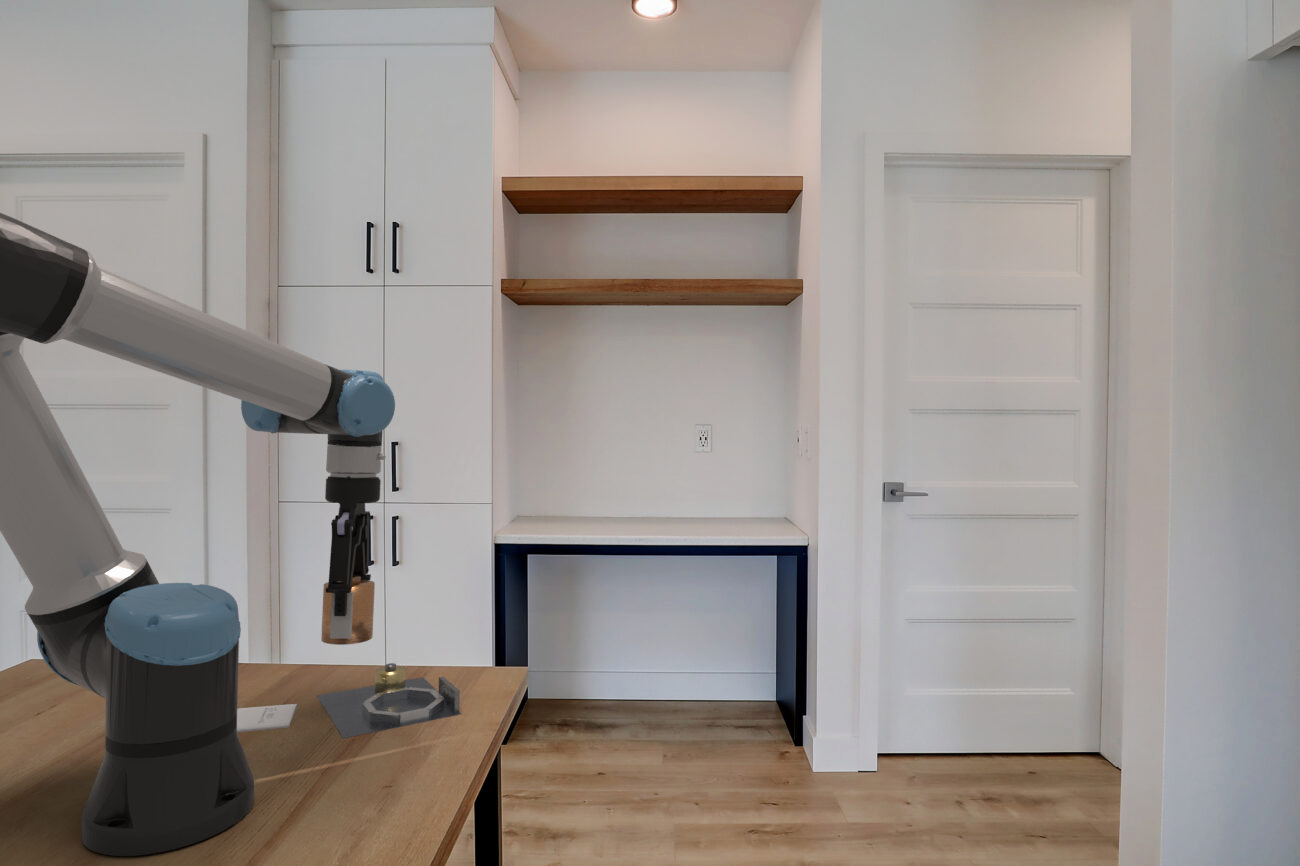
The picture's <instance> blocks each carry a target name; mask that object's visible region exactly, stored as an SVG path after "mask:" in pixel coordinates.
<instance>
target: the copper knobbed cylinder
mask: <svg viewBox="0 0 1300 866" xmlns="http://www.w3.org/2000/svg"><path fill="white" fill-rule="evenodd" d="M338 582H342V581H338ZM328 583H329V581H327V582H325V583H324V584H323V593H322V611H321V612H322V613H321V614H322V616H321V617H322V618H321V637H320V638H321V642H322V643H324V644H329V645H339V646H341V645H342V646H344V645H356V644H360V643H366V642H368V641H370V640H371V639H372V638H373V635H374V634H373V633H374V614H375V613H374V609H375V608H374V605H375V588H376V587H375V586H376V583H375V581H373V580H361V576H357V575H353V579H352V590H351V592H353V612H352V636H351V638H339V639H330V631H331V607H332V593H326V588H328Z"/></svg>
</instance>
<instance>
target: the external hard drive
mask: <svg viewBox="0 0 1300 866" xmlns="http://www.w3.org/2000/svg"><path fill="white" fill-rule="evenodd" d="M297 708H298V703H291V704H290V703H289V704H276V705H263V706H252V707H251V706H250V707H239V708H238V707H237V733H245V732H256V731H266V730H275V729H276V730H277V729H284V728H285V729H286V728H290V726H291V723H292V721H293V718H294V716H295V713H296V711H297Z"/></svg>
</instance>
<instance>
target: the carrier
mask: <svg viewBox="0 0 1300 866" xmlns="http://www.w3.org/2000/svg"><path fill="white" fill-rule="evenodd" d="M374 672H375V674H374V675H375V676H374V677H375V678H374V681H375V683H374V685H371V686H365V687H364V686H363V687H359V688H358V687H357V688H353V689H346V690H341V691H340V690H339V691H336V692H335V691H334V692H329V693H325V694H316V697H317V698H318V700H319V702H320V704H321V705H322V706H323V708H324V710H325V712H326V713H327V715H328V717H329V718H330V719H331V721H332V722H333V724H334V727H335V728H336V730H337V731H338V733H339V734H340V735H341V737H342V739H348V738H352V737H353V738H354V737H358V736H361V735H362V736H363V735H367V734H368V735H369V734H371V733H373V734H374V733H377V732H381V731H388V730H391V729H397V728H401V727H406V726H411V725H416V724H420V723H426V722H430V721H436V720H440V719H444V718H450V717H455V716H459V715H463V713H462V712H461V711H460V702H461V701H460V697H461V696H460V694H461V693H460V691H461V690H459V689H458V687H456V686H455V685H454V684H453V683H451V681H449V680H448V679H447V678H446V677H445V676H439V677H438V690H437V689H436V688H435V687H434V686H433V685H432V684H431V683H430V682H429V681H428V680H426V678H424V677H423V676H422V677H416V678H411V679H406V667H405V666H402V665H397V664H396V663H394V662H391V663H386V664H384V666H382V667H379V668H377V669H376V670H375V671H374Z"/></svg>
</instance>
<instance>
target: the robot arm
mask: <svg viewBox="0 0 1300 866" xmlns="http://www.w3.org/2000/svg"><path fill="white" fill-rule="evenodd" d="M25 339H27V340H30V341H34V342H37V343H39V344H42V345H47V344H51V343H55V342H57V341H61V340H65V341H68V342H71V343H74V344H77V345H80V346H82V347H85V348H88V349H92V350H94V351H97V352H100V353H103V354H106V355H108V356H112V357H115V358H118V359H120V360H123V361H127V362H129V363H132V364H135V365H138V366H140V367H144V368H147V369H150V370H153V371H156V372H158V373H162V374H165V375H167V376H170V377H174V378H176V379H179V380H183V381H184V382H188V383H190V384H193V385H197V386H199V387H203V388H206V389H208V390H211V391H213V392H216V393H217V392H218V393H221V394H223V395H225V396H229V397H232V398H234V399H238V400H241V405H240V406H241V407H240V408H241V416H242V418H243V421H244V423H245V424H246V425H247V426H248V428H249V429H251V430H252V431H255V432H263V433H271V434H277V433H280V434H281V433H282V434H311V435H313V434H314V435H327V445H326V446H327V448H326V462H325V463H326V465H325V466H326V467H325V470H326V472H327V473H329V474H330V475H329V476H327V478H325V493H324V494H325V495H324V497H325V500H326V501H327V502H328V503H333V504H334V503H335V504H337V503H338V504H339V507H338V508H339V509H338V513H337V514H336V515H335V518H334V519H332V520H331V522H330V524H331V525H330V526H331V544H330V557H329V558H330V559H329V570H328V571H329V574H328V582H329V583H328V588H326V593H332V607H331V631H330V639H339V638H351V636H352V612H353V592H351V590H352V579H353V575H357V576H361V580H369V581H371V577H372V574H371V573H370V574H369V571H370V569H369V556H370V555H369V550H370V549H369V547H370V546H369V545H370V539H369V538H370V518H371V511H370V510H369V511H367V510H366V504H372V503H376V502H379V501H380V499H381V482H382V481H381V479H380V477H378V476H377V474H380V473H381V471H382V470H381V469H382V468H381V467H382V461H384V460H385V459H386V455H385V453H383V452H382V444H383V431H384V430H385V429H386V428H387V427H389V425H390V424H391V422H392V420H393V417H394V415H395V411H396V399H395V396H394V392H393V390H392V389H391V387H390V386H389V385H388V383H386V381H384V377H383V376H382V375H381V373H380V374H379V372H378V373H377V372H375V371H370V370H358V369H338V368H335V367H333V366H330V365H328V364H325V363H323V362H320V361H319V360H315V359H313V358H312V357H309V356H307V355H304V354H302V353H300V352H298V351H295V350H293V349H291V348H288V347H286V346H283V345H281V344H279V343H277V342H274V341H271V340H269V339H267V338H264V337H262V336H260V335H257V334H255V333H252V332H250V331H248V330H246V329H244V328H241V327H238V326H236V325H234V324H232V323H230V322H227V321H225V320H222V319H220V318H218V317H216V316H214V315H211V314H209V313H206V312H204V311H202V310H199V309H197V308H194V307H192V306H190V305H187V304H186V303H182V302H180V301H178V300H176V299H173V298H171V297H169V296H167V295H164V294H162V293H159V292H157V291H155V290H152V289H150V288H148V287H145V286H143V285H141V284H139V283H136V282H133V280H132V281H131V280H129V279H127V278H125V277H122V276H119V275H117V274H116V273H112V272H110V271H108V270H106V269H103V268H101V267H99V266H98V265H97V262H96V261H95V259H94V257H93V255H92V253H91V252H90V251H88V250H87V249H84V248H82V247H79V246H77V245H75V244H73V243H70V242H68V241H66V240H63V239H62V238H59V237H57V236H54V235H53V234H50V233H48V232H45V231H44V230H41V229H40V228H37V227H34V226H32V225H30V224H28V223H25V222H23V221H21V220H19V219H16V218H14V217H11V216H9V215H7V214H5V213H2V212H0V533H1V534H2V537H3V538H4V540H5V543H7V545H8V547H9V548H10V550H11V552H12V554H13V555H14V556H15V558H16V560H17V562H18V564H19V566H20V567H21V569H22V570H23V572H24V574H25V576H26V578H27V579H28V581H29V583H30V585H31V586H32V591H31V593H30V594H29V595H28V598H27V600H26V602H25V604H24V610H25V611H26V614H27V615H28V617H29V618H30V621H31V622H32V623H33V626H34V627H35V629H36V630H37V633H36V639H37V640H36V642H37V646H38V649H39V653H40V655H41V657H42V659H43V660H44V662H45V663H46V665H47V666H48V667H49V669H50V670H52V672H53V673H55V674H56V675H57V676H59V677H60V678H61V679H62V680H64V681H67V682H69V683H71V684H74V685H77V686H79V687H82V688H83V689H86V690H88V691H89V692H93V693H94V694H96V695H98V696H99V697H101V698H104V699H105V722H104V723H105V725H104V726H105V728H104V729H105V731H104V733H105V734H104V735H105V736H104V739H105V742H104V743H105V745H104V757H103V759H102V762H101V764H100V767H99V770H98V772H97V775H96V777H95V780H94V782H93V786H92V788H91V790H90V792H89V795H88V799H87V801H86V803H85V806H84V809H83V813H82V817H81V840H82V844H83V845H84V846H85V847H86V848H87V849H89V850H90V851H92V852H95V853H98V854H102V855H107V856H114V857H115V856H118V857H133V856H135V857H136V856H145V855H152V854H153V855H154V854H157V853H162V852H167V851H172V850H176V849H180V848H183V847H186V846H189V845H193V844H196V843H198V842H201V841H203V840H206V839H208V838H211V837H213V836H215V835H218V834H219V833H222V832H224V831H226V830H227V829H228V828H230V827H232V826H233V825H235V824H237V822H239V821H240V820H242V818H244V817H245V816H246V815H247V814H248V813H249V811H250V810H251V809H252V807H253V805H254V801H255V778H254V775H253V772H252V769H251V767H250V764H249V761H248V758H247V755H246V753H245V750H244V747H243V745H242V742H241V740H240V736H239V734H238V733H239V732H237V708H238V700H239V699H238V696H239V694H238V693H239V653H240V652H239V651H240V650H239V649H240V638H241V622H240V616H239V607H238V603H237V600H236V599H235V597H234V596H233V595H232V594H231V593H230V592H228V591H227V590H225V589H222V588H219V587H217V586H214V585H208V584H202V583H200V584H193V583H190V582H167V583H159V580H158V579H157V577H156V574H155V573H154V571H153V569H152V568H151V567H152V566H151V565H150V563H149V561H148V559H147V558H146V556H145V555H144V554H142V553H139V552H134V551H131V550H126V549H125V548H123V546H122V544H121V542H120V540H119V539H118V536H117V535H116V533H115V531H114V529H113V527H112V525H111V523H110V521H109V519H108V518H107V515H106V513H105V512H104V510H103V508H102V506H101V504H100V502H99V500H98V498H97V497H96V494H95V493H94V491H93V489H92V487H91V485H90V483H89V481H88V480H87V478H86V476H85V474H84V472H83V470H82V468H81V466H80V464H79V462H78V461H77V458H76V457H75V454H74V453H73V451H72V449H71V448H70V445H69V443H68V441H67V439H66V438H65V436H64V434H63V432H62V430H61V428H60V426H59V425H58V423H57V421H56V418H55V417H54V414H53V413H52V411H51V409H50V408H49V405H48V404H47V402H46V400H45V398H44V396H43V394H42V392H41V391H40V388H39V386H38V384H37V383H36V381H35V379H34V376H33V375H32V372H31V371H30V369H29V368H28V366H27V364H26V362H25V360H24V358H23V355H22V354H21V352H20V348H21V345H22V343H23V342H24V340H25ZM381 452H382V453H381ZM338 581H342V582H338Z"/></svg>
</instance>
